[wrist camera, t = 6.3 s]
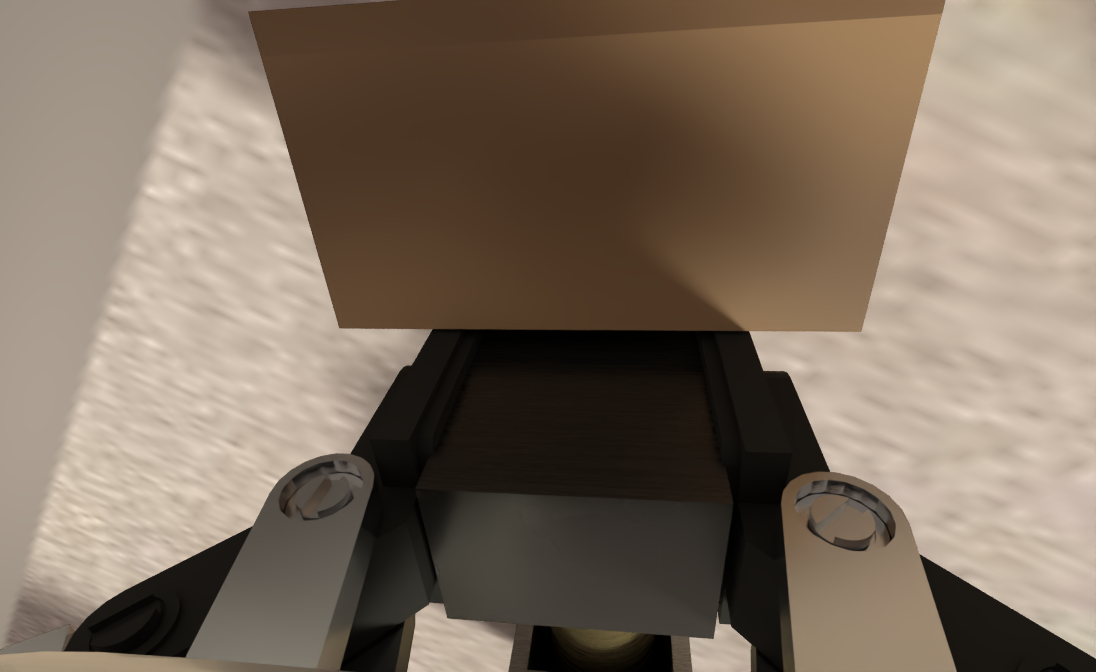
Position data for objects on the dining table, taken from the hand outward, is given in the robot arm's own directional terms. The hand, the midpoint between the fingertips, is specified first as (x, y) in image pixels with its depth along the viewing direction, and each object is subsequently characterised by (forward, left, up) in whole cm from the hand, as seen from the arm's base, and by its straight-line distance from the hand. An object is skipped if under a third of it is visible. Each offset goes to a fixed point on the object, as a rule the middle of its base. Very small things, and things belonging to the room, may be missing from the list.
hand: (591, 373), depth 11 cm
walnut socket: (+4, 0, -7) cm, 8 cm away
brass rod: (-4, 0, -3) cm, 5 cm away
